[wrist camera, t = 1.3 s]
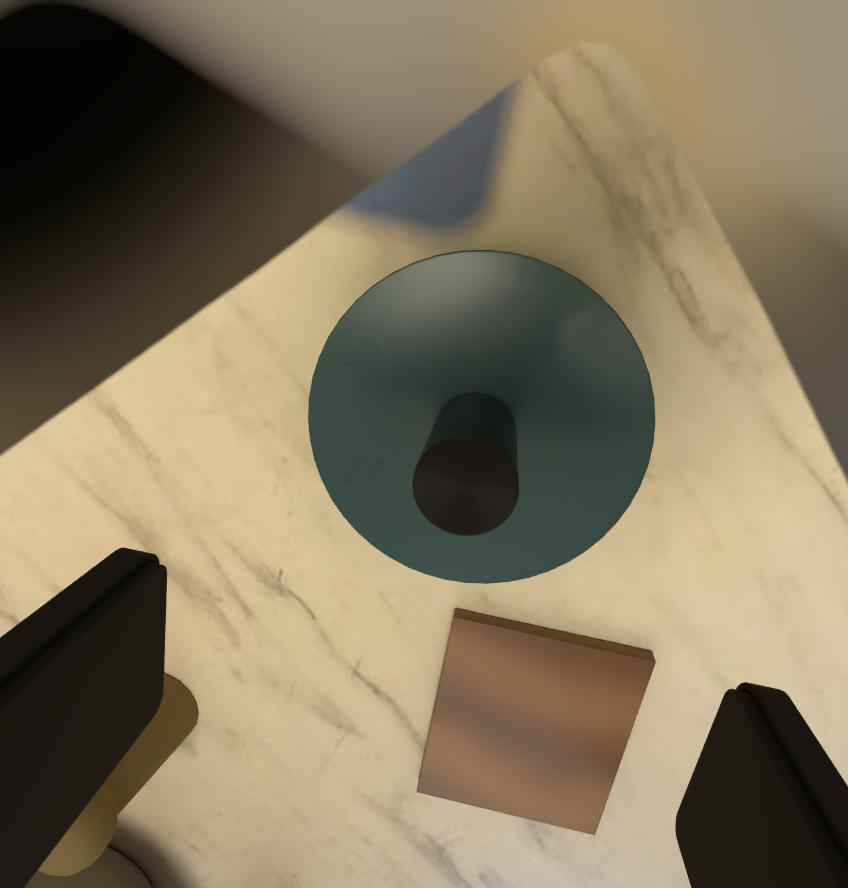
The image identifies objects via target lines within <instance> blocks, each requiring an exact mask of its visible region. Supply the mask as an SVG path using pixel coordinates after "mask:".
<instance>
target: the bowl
mask: <svg viewBox="0 0 848 888" xmlns="http://www.w3.org/2000/svg"><path fill="white" fill-rule="evenodd" d="M24 888H152V887H151V885H150V883H149V881H148V880H147V878H146V877H145V875H144V874H143V873H142V872H141V871H140V870H139V869H138V868H137V867H136V866H135V864H133V863H132V862H131V861H130V860H128V859H127V858H126V857H125V856H123V855H122V854H120V853H118V852H117V851H115V850H113V849H111V848H109V847H106V848H105V850H104V851H103V853H102V854H101V856H100V857H99V858H98V859H97V860H96V861H95V862H94V863H93V864H92V865H90V866H88V867H87V868H85V869H83V870H82V871H80V872H78V873H76V874H74V875H69V876H57V875H49V874H46V873H43V872H40V871H38V870H37V872H36V873H35V874H34V876H33V877H32V878H31V880H30V881H29V882H28V884H27V885H26V886H25V887H24Z"/></svg>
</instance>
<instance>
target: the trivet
mask: <svg viewBox="0 0 848 888" xmlns="http://www.w3.org/2000/svg"><path fill="white" fill-rule="evenodd" d="M655 662H656V661H655V659H654V656H653V653H652V651H648V650H643V649H639V648H634V647H629V646H625V645H620V644H616V643H611V642H607V641H602V640H598V639H593V638H588V637H584V636H579V635H575V634H570V633H566V632H561V631H556V630H552V629H547V628H543V627H538V626H534V625H529V624H524V623H520V622H515V621H511V620H506V619H502V618H497V617H493V616H488V615H483V614H479V613H474V612H470V611H465V610H461V609H455V611H454V615H453V620H452V625H451V630H450V634H449V639H448V644H447V648H446V653H445V658H444V663H443V667H442V672H441V677H440V681H439V686H438V691H437V696H436V700H435V705H434V710H433V714H432V719H431V724H430V729H429V733H428V738H427V743H426V748H425V752H424V757H423V762H422V766H421V771H420V776H419V781H418V787H417V792H419V793H423V794H427V795H431V796H435V797H440V798H444V799H448V800H452V801H456V802H460V803H464V804H468V805H472V806H477V807H481V808H485V809H489V810H493V811H497V812H501V813H505V814H509V815H514V816H518V817H522V818H526V819H530V820H534V821H538V822H542V823H546V824H551V825H555V826H559V827H563V828H567V829H571V830H575V831H579V832H583V833H588V834H592V835H595V833H596V830H597V827H598V825H599V822H600V819H601V816H602V813H603V810H604V807H605V805H606V802H607V799H608V796H609V793H610V790H611V788H612V785H613V782H614V779H615V776H616V773H617V771H618V768H619V765H620V762H621V759H622V756H623V753H624V751H625V748H626V745H627V742H628V739H629V736H630V734H631V731H632V728H633V725H634V722H635V719H636V716H637V714H638V711H639V708H640V705H641V702H642V699H643V697H644V694H645V691H646V688H647V685H648V682H649V680H650V677H651V674H652V671H653V668H654V665H655Z"/></svg>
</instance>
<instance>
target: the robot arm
mask: <svg viewBox="0 0 848 888" xmlns="http://www.w3.org/2000/svg"><path fill="white" fill-rule="evenodd" d="M166 593H167V569H166V567H165V566H164V565H161V564H159V559H158V557H157V556H156V555H155V554H151V553H147V552H142V551H137V550H133V549H128V548H119V549H118V550H116V551H114V552H113V553H112V554H110V555H109V556H108V557H106V558H105V559H104V560H102V561H101V562H100V563H99V564H97V565H96V566H95V567H93V568H92V569H91V570H89V571H88V572H87V573H85V574H84V575H83V576H81V577H80V578H79V579H77V580H76V581H75V582H73V583H72V584H71V585H69V586H68V587H67V588H65V589H64V590H63V591H61V592H60V593H59V594H57V595H56V596H55V597H53V598H52V599H51V600H50V601H48V602H47V603H46V604H44V605H43V606H42V607H40V608H39V609H38V610H36V611H35V612H34V613H32V614H31V615H30V616H28V617H27V618H26V619H24V620H23V621H22V622H20V623H19V624H18V625H16V626H15V627H14V628H12V629H11V630H10V631H8V632H7V633H6V634H4V635H3V636H2V637H1V638H0V888H24V887H25V886H26V885H27V884H28V882H29V881H30V880H31V878H32V877H33V876H34V874H35V873H36V872H37V870H38V869H39V868H40V866H41V865H42V864H43V862H44V861H45V860H46V859H47V857H48V856H49V855H50V853H51V852H52V851H53V849H54V848H55V847H56V845H57V844H58V843H59V841H60V840H61V839H62V837H63V836H64V835H65V834H66V832H67V831H68V830H69V828H70V827H71V826H72V824H73V823H74V822H75V820H76V819H77V818H78V816H79V815H80V814H81V812H82V811H83V810H84V809H85V807H86V806H87V805H88V803H89V802H90V801H91V799H92V798H93V797H94V795H95V794H96V793H97V791H98V790H99V789H100V787H101V786H102V785H103V783H104V782H105V781H106V780H107V778H108V777H109V776H110V774H111V773H112V772H113V770H114V769H115V768H116V766H117V765H118V764H119V762H120V761H121V760H122V758H123V757H124V756H125V755H126V753H127V752H128V751H129V749H130V748H131V747H132V745H133V744H134V743H135V741H136V740H137V739H138V737H139V736H140V735H141V733H142V732H143V731H144V730H145V728H146V727H147V726H148V724H149V723H150V722H151V720H152V719H153V718H154V716H155V715H156V713H157V711H158V709H159V707H160V704H161V702H162V698H163V690H164V658H165V626H166ZM676 837H677V841H678V845H679V848H680V851H681V855H682V858H683V861H684V865H685V868H686V871H687V875H688V878H689V881H690V885H691V888H848V786H847V784H846V783H845V781H844V780H843V778H842V777H841V775H840V774H839V772H838V771H837V769H836V768H835V766H834V764H833V763H832V761H831V760H830V758H829V757H828V755H827V754H826V752H825V751H824V749H823V748H822V746H821V745H820V743H819V742H818V740H817V739H816V737H815V735H814V734H813V732H812V731H811V729H810V728H809V726H808V725H807V723H806V722H805V720H804V719H803V717H802V716H801V714H800V713H799V711H798V710H797V708H796V706H795V705H794V703H793V702H792V700H791V699H790V697H789V696H788V695H787V694H786V693H785V692H784V691H782V690H779V689H775V688H770V687H765V686H761V685H756V684H751V683H747V682H744V683H741V684H740V685H739V686H738V687H737V689H736V690H735V689H729V690H728V691H726V693H725V695H724V697H723V699H722V702H721V704H720V707H719V709H718V712H717V714H716V717H715V719H714V722H713V724H712V727H711V729H710V732H709V734H708V737H707V739H706V742H705V744H704V747H703V749H702V752H701V754H700V757H699V759H698V762H697V764H696V767H695V769H694V772H693V774H692V777H691V779H690V782H689V784H688V787H687V790H686V792H685V795H684V797H683V800H682V802H681V805H680V807H679V810H678V812H677V816H676Z"/></svg>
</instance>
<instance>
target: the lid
mask: <svg viewBox="0 0 848 888" xmlns="http://www.w3.org/2000/svg"><path fill="white" fill-rule="evenodd" d="M308 422H309V433H310V442H311V446H312V451H313V455H314V460H315V463H316V465H317V468H318V471H319V474H320V476H321V479H322V481H323V483H324V485H325V487H326V489H327V491H328V493H329V495H330V497H331V499H332V500H333V502H334V503H335V505H336V506H337V508H338V509H339V511H340V512H341V514H342V515H343V516H344V517H345V519H346V520H347V521H348V522H349V523H350V524H351V525H352V527H353V528H354V529H355V530H356V531H357V532H358V533H359V534H360V535H361V536H362V537H364V538H365V539H366V540H367V541H368V542H369V543H370V544H371V545H373V546H374V547H376V548H377V549H378V550H380V551H381V552H383V553H384V554H385V555H387V556H388V557H390V558H392V559H394V560H396V561H397V562H399V563H401V564H403V565H405V566H407V567H409V568H412V569H414V570H417V571H419V572H422V573H424V574H427V575H431V576H434V577H438V578H442V579H445V580H452V581H458V582H464V583H485V584H487V583H500V582H510V581H515V580H520V579H525V578H529V577H532V576H536V575H539V574H542V573H545V572H548V571H550V570H552V569H555V568H557V567H559V566H561V565H563V564H565V563H567V562H569V561H571V560H572V559H574V558H576V557H577V556H579V555H580V554H582V553H584V552H585V551H587V550H588V549H589V548H590V547H592V546H593V545H594V544H595V543H596V542H598V541H599V540H600V539H601V538H603V536H604V535H605V534H606V533H607V532H608V531H609V530H610V529H611V528H612V527H613V526H614V525H615V524H616V523H617V522H618V520H619V519H620V518H621V516H622V515H623V514H624V512H625V511H626V510H627V508H628V507H629V505H630V504H631V502H632V500H633V498H634V497H635V495H636V493H637V491H638V489H639V487H640V486H641V483H642V480H643V478H644V475H645V473H646V470H647V467H648V464H649V460H650V456H651V452H652V447H653V442H654V431H655V405H654V395H653V390H652V385H651V380H650V375H649V372H648V369H647V367H646V364H645V361H644V358H643V355H642V353H641V351H640V349H639V347H638V345H637V343H636V341H635V339H634V338H633V336H632V334H631V332H630V331H629V329H628V328H627V326H626V325H625V324H624V322H623V321H622V319H621V318H620V317H619V315H618V314H617V313H616V312H615V311H614V310H613V308H612V307H611V306H610V305H609V304H608V303H607V302H606V301H605V300H604V299H603V298H602V297H601V296H600V295H599V294H597V293H596V292H595V291H594V290H592V289H591V288H590V287H588V286H587V285H586V284H585V283H583V282H582V281H581V280H579V279H577V278H576V277H574V276H572V275H570V274H569V273H567V272H565V271H563V270H562V269H560V268H558V267H556V266H553V265H550V264H548V263H545V262H543V261H540V260H538V259H535V258H531V257H527V256H523V255H519V254H515V253H511V252H501V251H492V250H471V251H458V252H452V253H446V254H440V255H436V256H433V257H430V258H427V259H423V260H420V261H417V262H414V263H412V264H410V265H408V266H406V267H404V268H402V269H399V270H397V271H395V272H393V273H392V274H390V275H388V276H387V277H385V278H384V279H382V280H381V281H379V282H378V283H376V284H375V285H373V286H372V287H371V288H370V289H369V290H368V291H366V292H365V293H364V294H363V295H362V296H361V297H360V298H358V299H357V300H356V301H355V302H354V303H353V305H352V306H351V307H350V308H349V309H348V310H347V312H346V313H345V314H344V315H343V316H342V317H341V319H340V320H339V322H338V323H337V325H336V326H335V328H334V329H333V331H332V332H331V334H330V335H329V337H328V339H327V341H326V343H325V346H324V348H323V350H322V352H321V354H320V356H319V359H318V362H317V365H316V368H315V372H314V375H313V378H312V384H311V390H310V396H309V413H308Z"/></svg>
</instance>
